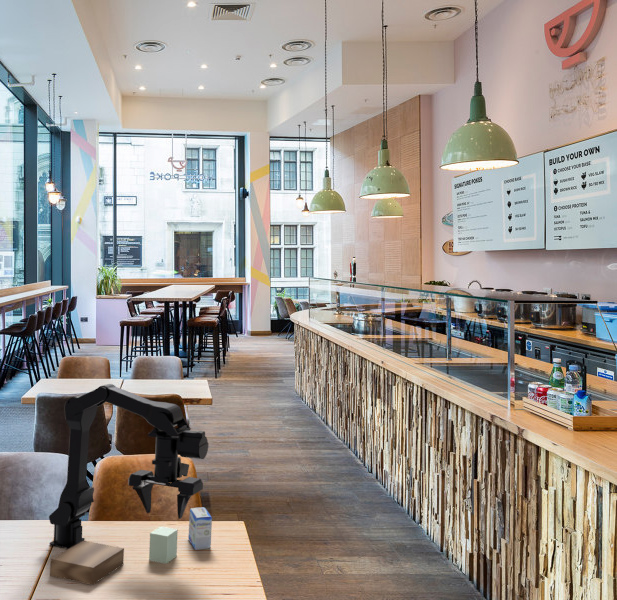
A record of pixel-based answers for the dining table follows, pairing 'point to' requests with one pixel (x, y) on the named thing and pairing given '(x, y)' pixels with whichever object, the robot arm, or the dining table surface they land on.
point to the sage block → (163, 544)
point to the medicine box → (200, 528)
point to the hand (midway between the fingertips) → (164, 515)
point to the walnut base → (86, 562)
